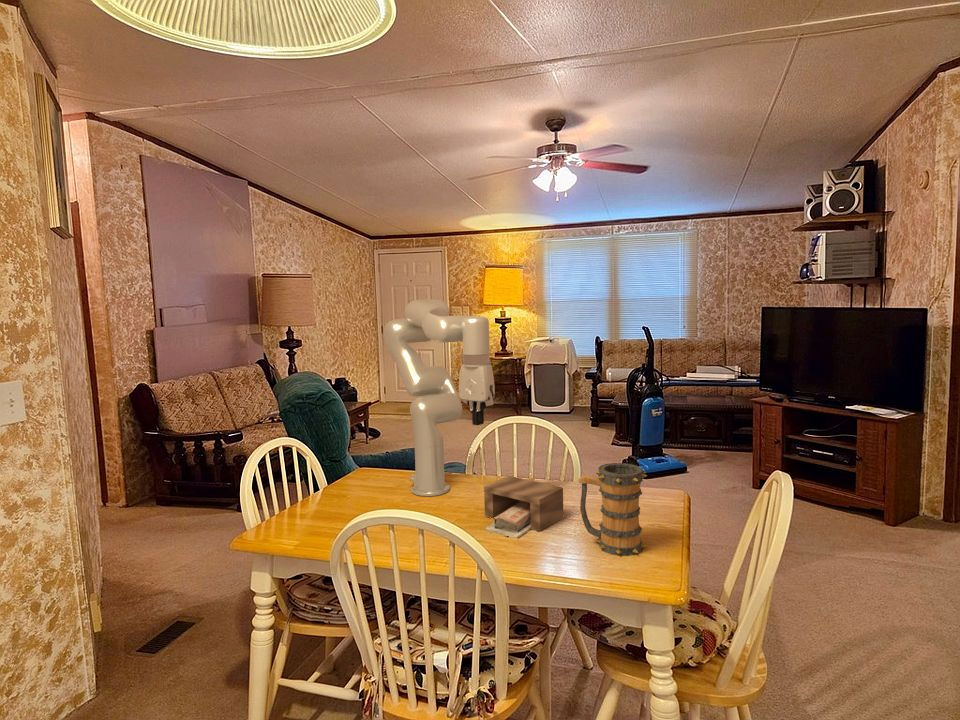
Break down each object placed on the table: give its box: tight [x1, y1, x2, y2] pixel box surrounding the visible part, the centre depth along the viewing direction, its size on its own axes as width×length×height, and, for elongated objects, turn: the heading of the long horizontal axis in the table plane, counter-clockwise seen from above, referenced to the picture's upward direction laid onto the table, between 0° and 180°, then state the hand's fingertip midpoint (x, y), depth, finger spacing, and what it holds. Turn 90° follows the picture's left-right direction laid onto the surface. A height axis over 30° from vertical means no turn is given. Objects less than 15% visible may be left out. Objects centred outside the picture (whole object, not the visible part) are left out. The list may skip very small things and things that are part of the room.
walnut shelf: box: [483, 475, 564, 532], centre depth 167 cm, size 19×12×9 cm, turn 51°
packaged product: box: [485, 501, 531, 539], centre depth 163 cm, size 18×5×10 cm
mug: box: [576, 462, 648, 557], centre depth 146 cm, size 13×17×20 cm
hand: (478, 424), depth 167 cm, fingers closed
